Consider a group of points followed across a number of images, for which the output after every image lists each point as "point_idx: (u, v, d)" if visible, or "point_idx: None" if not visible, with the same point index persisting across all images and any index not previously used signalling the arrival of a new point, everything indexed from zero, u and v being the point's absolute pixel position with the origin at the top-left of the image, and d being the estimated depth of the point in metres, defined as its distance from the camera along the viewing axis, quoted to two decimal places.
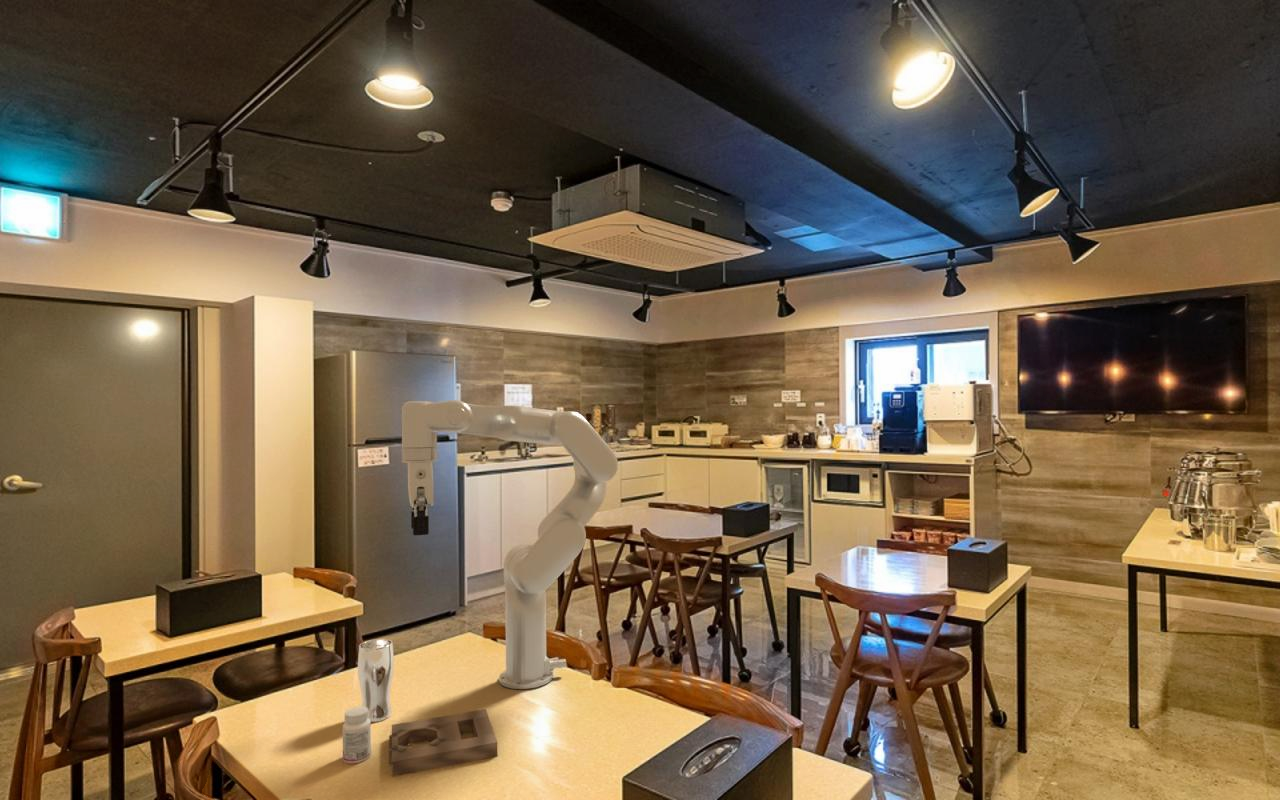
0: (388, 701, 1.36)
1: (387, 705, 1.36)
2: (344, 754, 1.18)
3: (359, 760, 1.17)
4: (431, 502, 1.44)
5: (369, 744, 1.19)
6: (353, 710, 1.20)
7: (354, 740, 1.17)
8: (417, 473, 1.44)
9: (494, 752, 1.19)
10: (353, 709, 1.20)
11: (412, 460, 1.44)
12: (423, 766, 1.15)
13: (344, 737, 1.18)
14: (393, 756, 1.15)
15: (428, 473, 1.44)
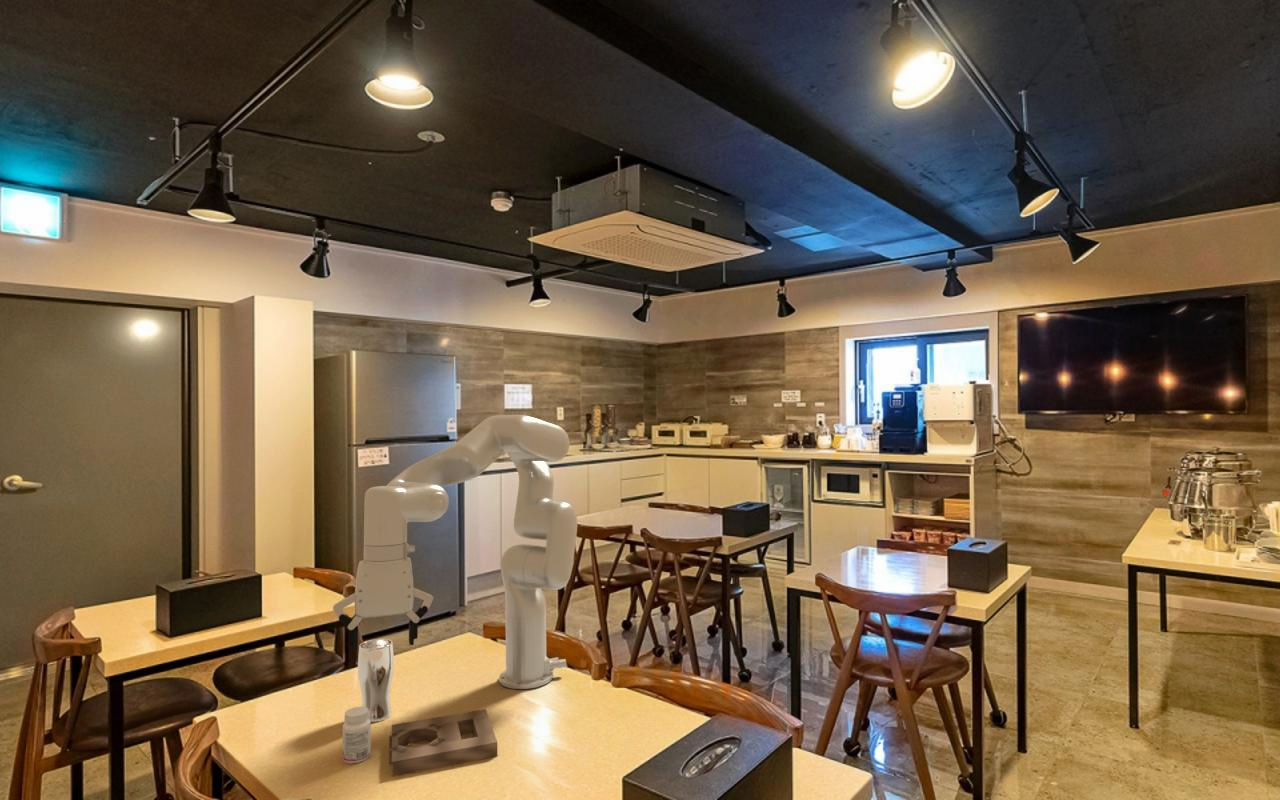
0: (388, 701, 1.36)
1: (387, 705, 1.36)
2: (344, 754, 1.18)
3: (359, 760, 1.17)
4: None
5: (369, 744, 1.19)
6: (353, 710, 1.20)
7: (354, 740, 1.17)
8: None
9: (494, 752, 1.19)
10: (353, 709, 1.20)
11: (404, 557, 1.21)
12: (423, 766, 1.15)
13: (344, 737, 1.18)
14: (393, 756, 1.15)
15: None
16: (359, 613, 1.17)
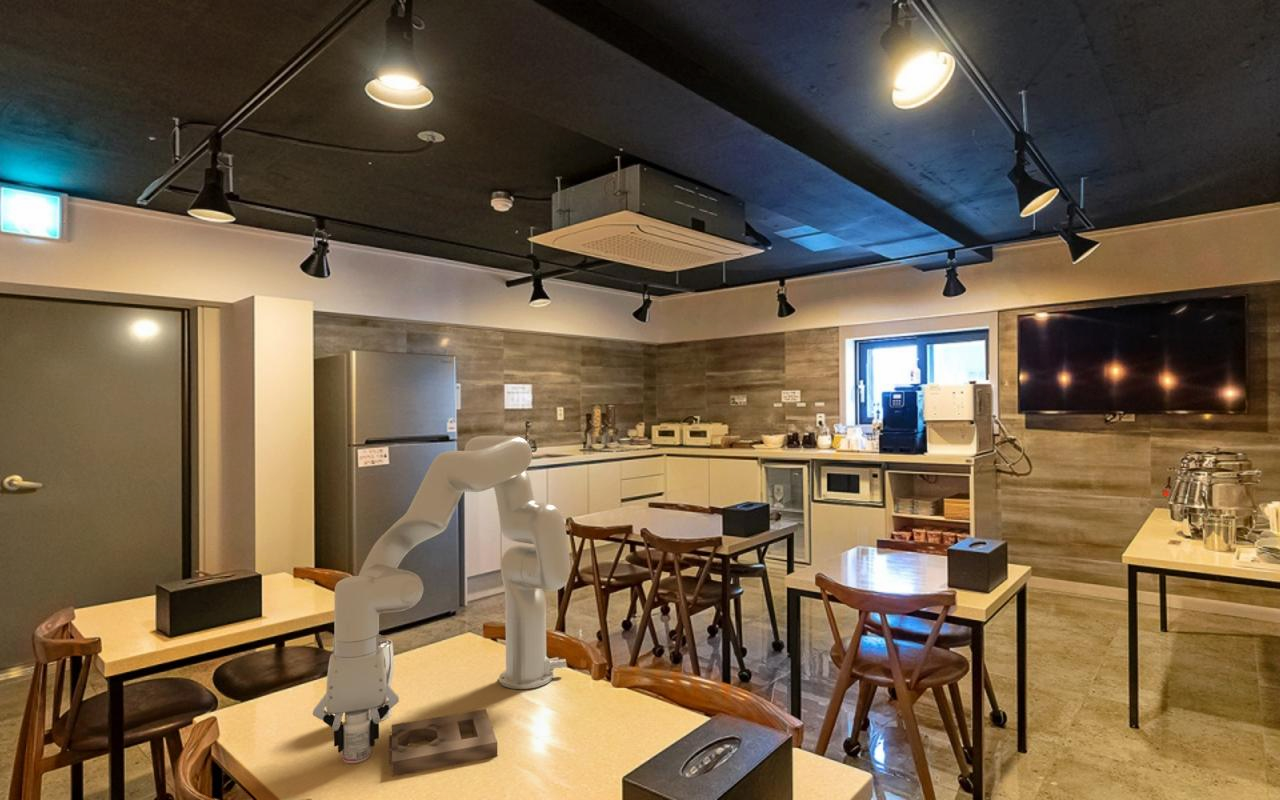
0: None
1: None
2: (344, 754, 1.18)
3: (359, 759, 1.17)
4: None
5: (369, 744, 1.19)
6: None
7: (354, 740, 1.17)
8: None
9: (494, 752, 1.19)
10: None
11: (376, 650, 1.20)
12: (423, 766, 1.15)
13: (344, 737, 1.18)
14: (393, 756, 1.15)
15: None
16: (330, 709, 1.16)
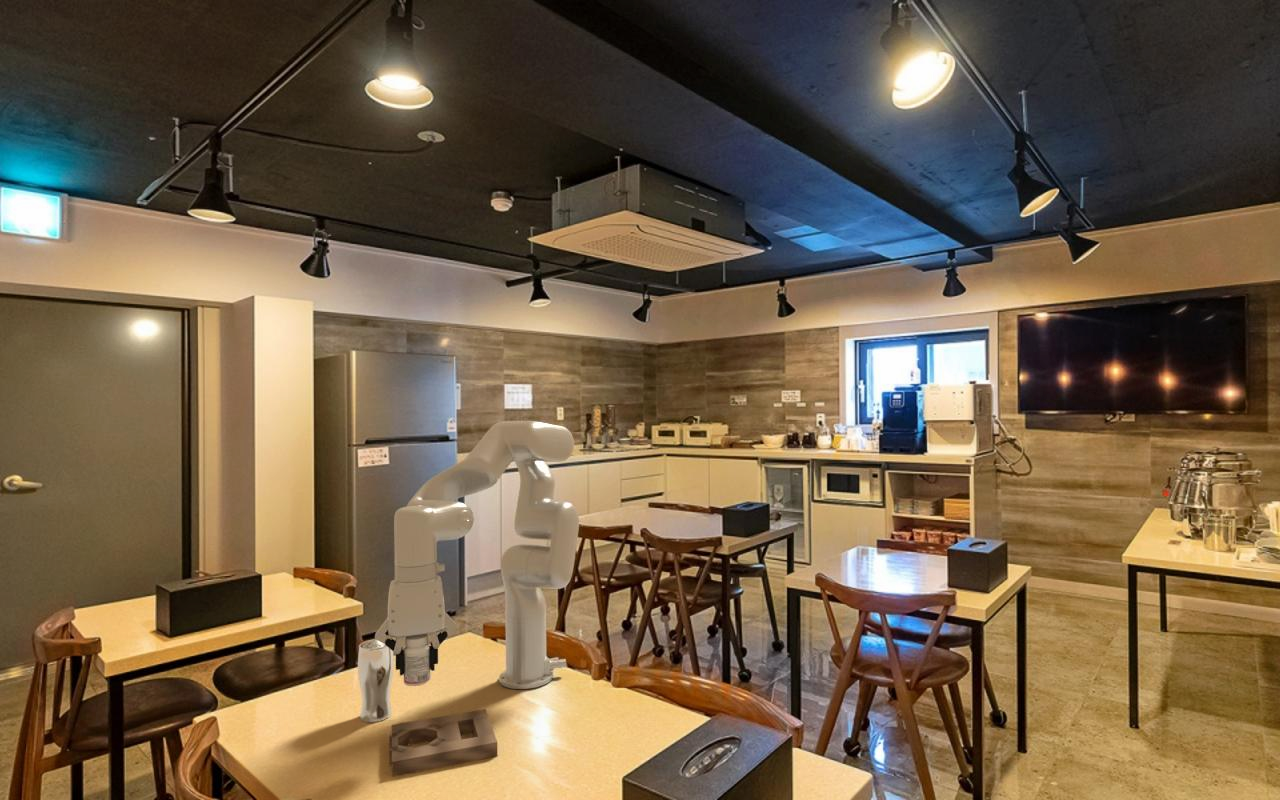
0: (388, 701, 1.36)
1: (387, 705, 1.36)
2: (405, 677, 1.20)
3: (420, 682, 1.20)
4: None
5: (429, 668, 1.22)
6: None
7: (415, 663, 1.20)
8: None
9: (494, 752, 1.19)
10: None
11: (435, 577, 1.22)
12: (423, 766, 1.15)
13: (405, 660, 1.20)
14: (393, 756, 1.15)
15: None
16: (392, 633, 1.19)
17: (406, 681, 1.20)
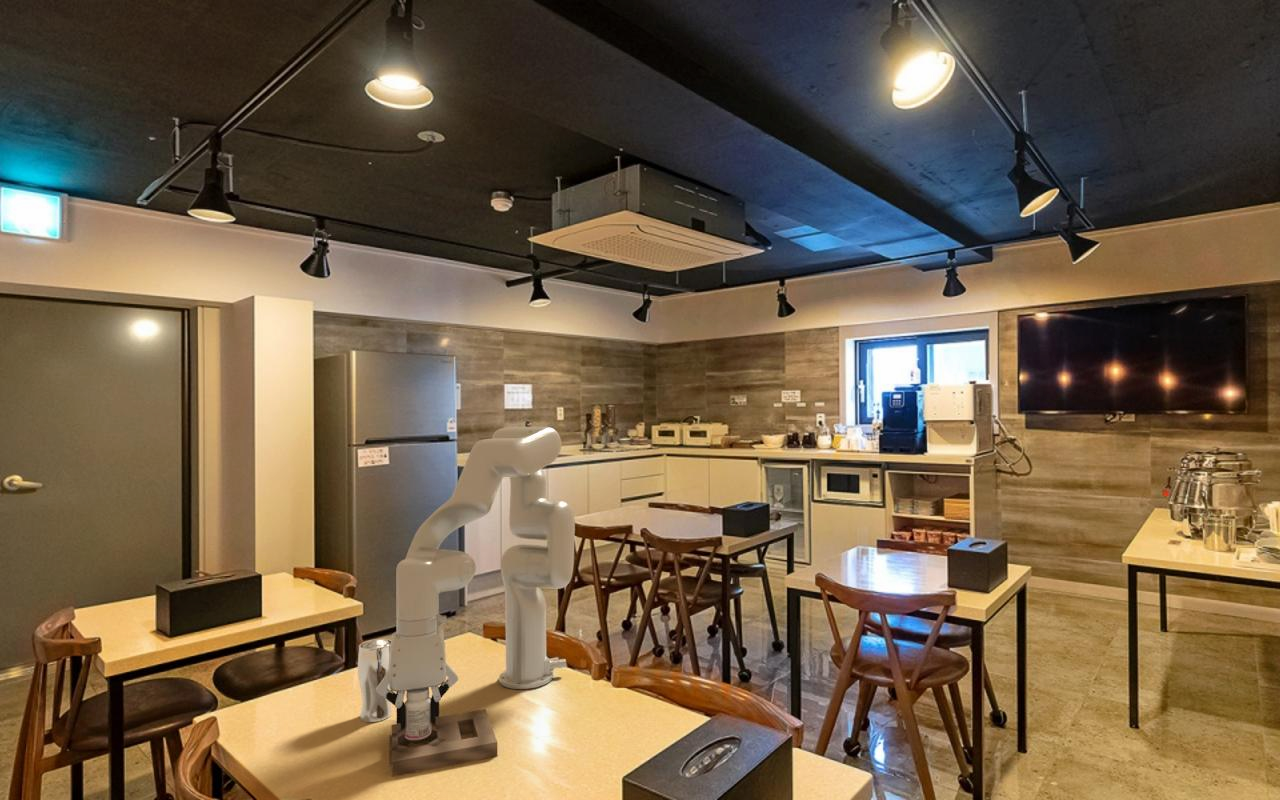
0: (388, 701, 1.36)
1: (387, 705, 1.36)
2: (406, 731, 1.20)
3: (421, 736, 1.19)
4: None
5: (430, 722, 1.21)
6: None
7: (416, 717, 1.19)
8: None
9: (494, 752, 1.19)
10: None
11: (436, 630, 1.22)
12: (423, 766, 1.15)
13: (406, 714, 1.20)
14: (393, 756, 1.15)
15: None
16: (393, 687, 1.18)
17: (407, 735, 1.20)
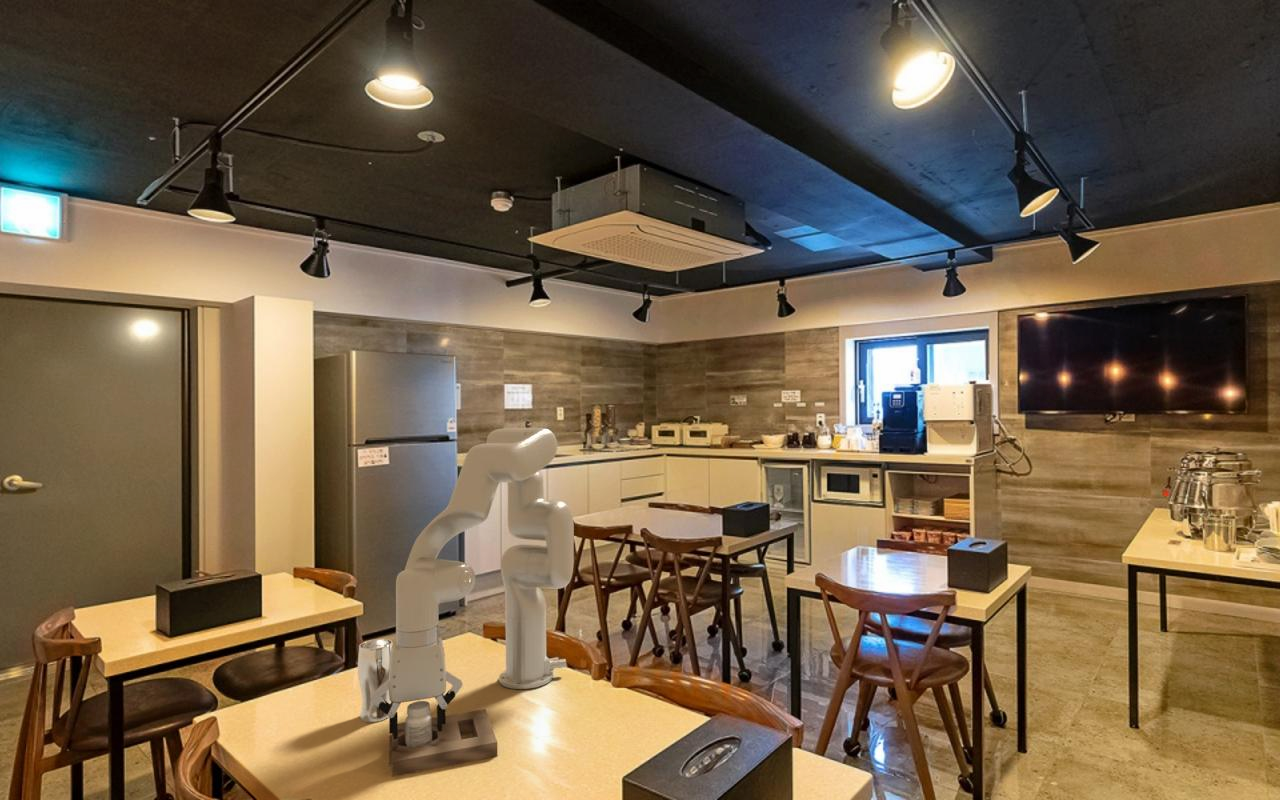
0: (388, 701, 1.36)
1: None
2: None
3: None
4: None
5: (431, 738, 1.22)
6: (415, 704, 1.22)
7: (417, 734, 1.19)
8: None
9: (494, 752, 1.19)
10: (415, 703, 1.22)
11: (436, 641, 1.22)
12: (423, 766, 1.15)
13: (407, 731, 1.20)
14: (393, 756, 1.15)
15: None
16: (393, 699, 1.18)
17: None
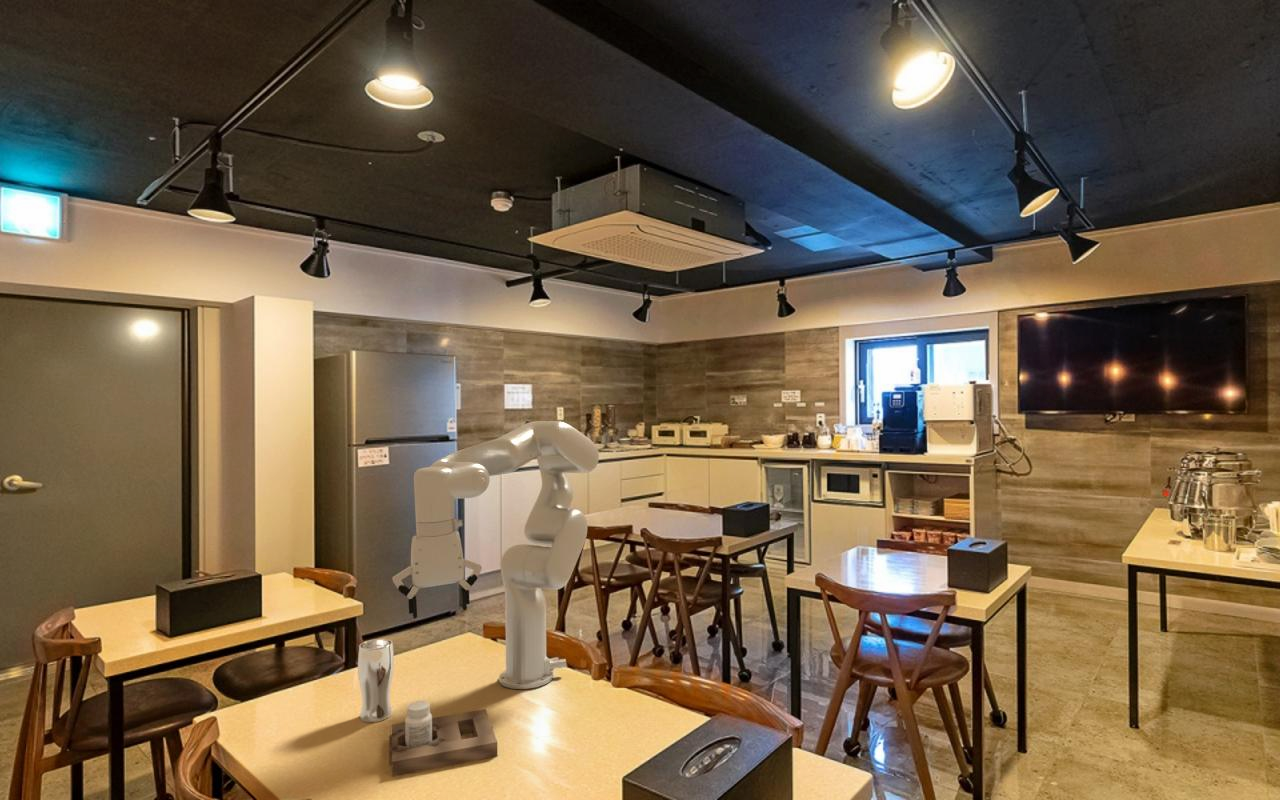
0: (388, 701, 1.36)
1: (387, 705, 1.36)
2: None
3: None
4: None
5: (431, 738, 1.22)
6: (415, 704, 1.22)
7: (417, 734, 1.19)
8: None
9: (494, 752, 1.19)
10: (415, 703, 1.22)
11: (454, 532, 1.32)
12: (423, 766, 1.15)
13: (407, 731, 1.20)
14: (393, 756, 1.15)
15: None
16: (416, 583, 1.28)
17: None
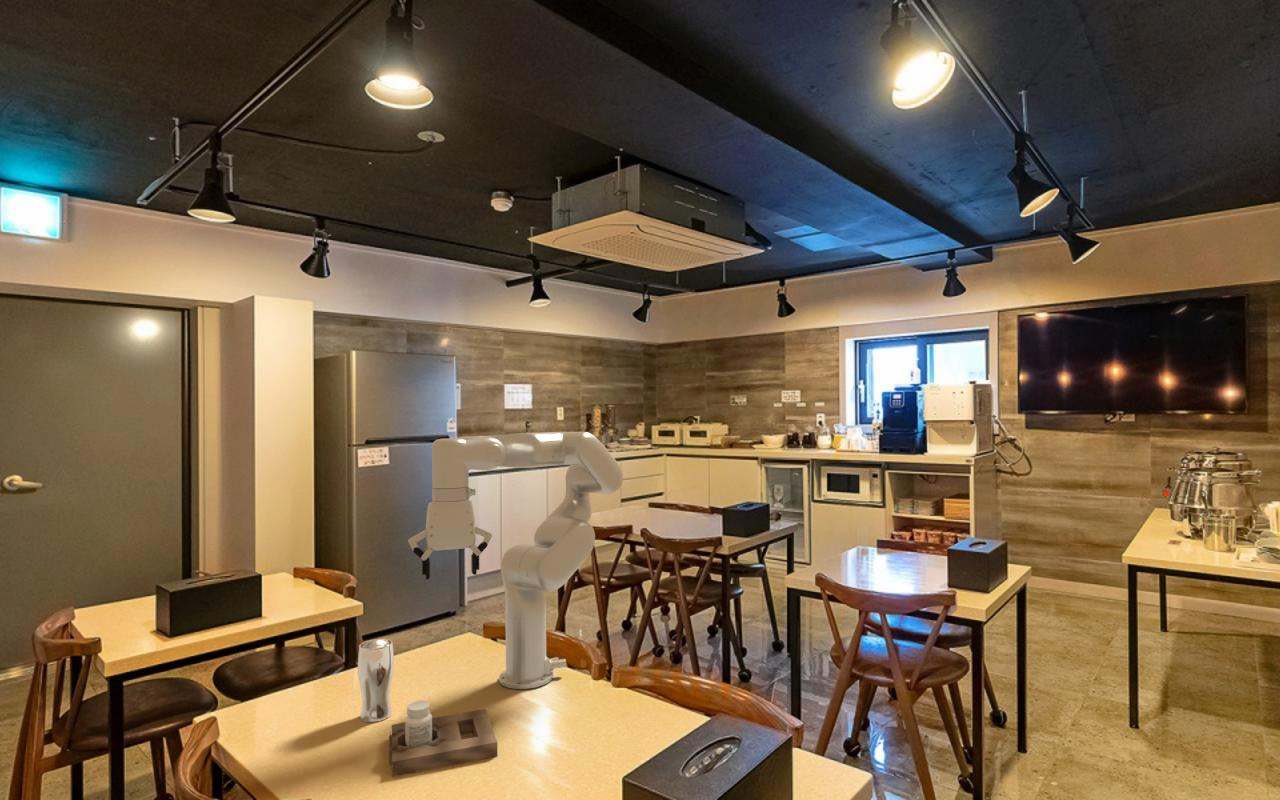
0: (388, 701, 1.36)
1: (387, 705, 1.36)
2: None
3: None
4: None
5: (431, 738, 1.22)
6: (415, 704, 1.22)
7: (417, 734, 1.19)
8: None
9: (494, 752, 1.19)
10: (415, 703, 1.22)
11: (467, 499, 1.40)
12: (423, 766, 1.15)
13: (407, 731, 1.20)
14: (393, 756, 1.15)
15: None
16: (430, 546, 1.37)
17: None
